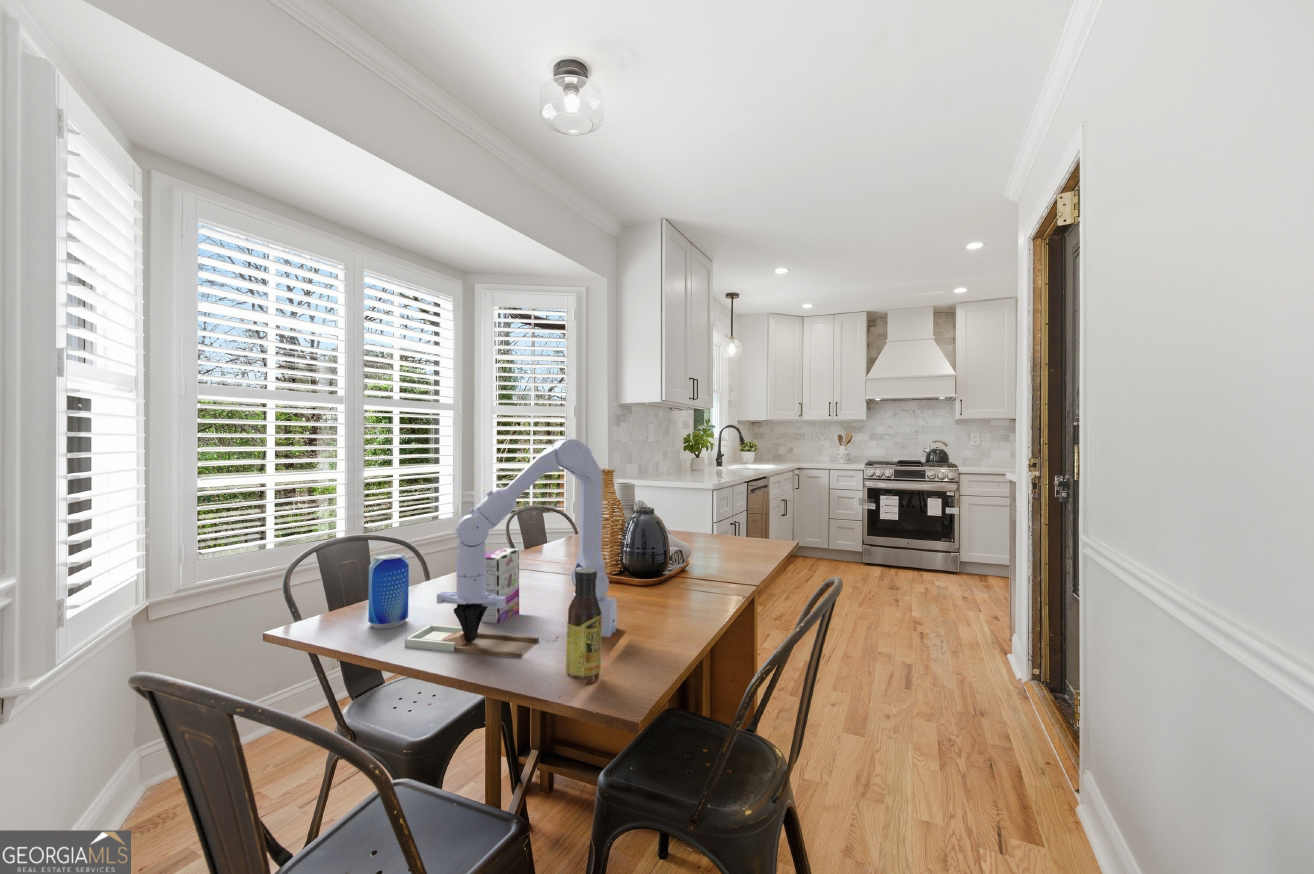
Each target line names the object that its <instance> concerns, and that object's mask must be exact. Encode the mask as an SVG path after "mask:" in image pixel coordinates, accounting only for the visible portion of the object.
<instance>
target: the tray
mask: <svg viewBox="0 0 1314 874" xmlns="http://www.w3.org/2000/svg"><path fill="white" fill-rule="evenodd" d="M433 631H436V632H446V633H453V634H454V633H457V632H461V631H463V630H462V627H461V626H453V625H452V626H451V625H439V624H429V625H428V626H426V627H423V628H422V629H420V630H419V631H417V632H414V633H413V634H411V635H409V636H408V637H406V638H404V647H405V648H414V649H425V650H433V651H434V650H435V651H444V652H454V647H455V646H456V643H454V642H444V641H433V640H423V639H421V638H423V637H424V636H426V635H428V634H430V633H432V632H433ZM465 644H466V643H465ZM462 646H463V645H462Z"/></svg>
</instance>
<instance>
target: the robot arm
mask: <svg viewBox="0 0 1314 874" xmlns="http://www.w3.org/2000/svg"><path fill="white" fill-rule="evenodd" d="M561 468H562V469H564V470H566V471H568V472H569V473H570V474H571V475H572V476H573V477H574V478H575V479H577V480H578V482H579V503H578V504H579V505H578V506H579V507H578V509H579V511H578V512H579V515H578V517H579V519H578V522H579V523H578V553H577V555H576V557H575V566H574V569H573V570H572V573H571V581H572V584H573V585H574V587H575V586H576V579H575V570H577V569H584V568H590V569H595V570H596V571H597V578H596V597H597V600H598V603H599V606H600V609H601V613H602V628H601V638H602V637H603V638H610V637H611V636H612V635H613V634H614V633H616V630H617V629H618V602H617V599H616V598H612V597H609V596H607V592H608V590H609V587H610V581H609V578H608V576H607V573H606V564H605V561H604V558H603V553H602V547H603V546H602V545H603V544H602V543H603V540H602V539H603V490H604V488H603V487H604V485H603V484H604V483H603V482H604V474H603V471H602V469H601V467H600V466H599V464H598V462H597V460H596V458H595V457H594V455H593V454H592V450H591V449H590V448H589V447H588V446H587V445H586V444H585V443H583V442H582V441H580V440H578V439H573V438H571V439H568V438H560V439H558V440H556V441H554V442H553V443H552V445H551V446H549V447H547V448H545V449H543V451H542V452H540V453H539V454H538V455H537V456H536V457H534V459H533V460H532V461H531V462H529V464H528V465H527V466H526V467H525V468H524V469H523V470H522V471H521V472H520V473H519V474H517V476H516V477H515V478H514V479H513V480H512V481H511V482H510V483H509V484H507V485H506V486H505V487H496V488H495V489H494V490H491V489H489V490H488V491H487V492H486V493H485V494H486V497H485V498H484V499H482V501H481V502H479V503H478V504H477V505H476V506H475V507H471V508H470V509H469V510H468V512H469V514H467V515H464V516H463V517H462V518H460V519H459V521H458V522H457V525H456V528H455V531H456V534H457V536H458V543H457V553H456V591H441V592H439V593H437V594H436V604H450V605H451V604H453V605H455V604H456V607H455V608H453V613H454V614H455V616H456V618H457V620H458V623H459V624H460V627H462V630H463V634H464V638H465V642H472V641H474V640H475V639H476V636H477V632H479V627H480V625H481V620H482V617H483V615H484V613H485V611H486V609H487V608H488V606H489V607H497V608H500V609H502V608H503V607H505V606H506V597H505V596H498V595H494V594H489V593H486V555H487V551H486V540H487V538H488V536H489V531H490V530H493V529H494V528H496V527H497V526H498V525H499V524H500V523H501V522H502V521H503V520H504V519H505V518H506V517H507V516H509V514H510V513H511V512H513V510H515V509H516V507H517V499H518V498H519V497H520V496H521V495H522V494H523V493H524V492H526V491H527V490H528V489H529V488H530V487H531V486H532V485H534V484H535V483H537V481H538V480H540V479H541V477H543V476H544V475H545V474H547V473H549V474H550V473H552V472H553V473H554V472H558V471H561ZM572 596H573V597H572V599H573V598H574V597H575V591H574V593H573V594H572Z"/></svg>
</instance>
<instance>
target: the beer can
mask: <svg viewBox="0 0 1314 874" xmlns="http://www.w3.org/2000/svg"><path fill="white" fill-rule="evenodd" d="M409 564H410V563H409V562H408V560H407V559H406V557H405V553H402V552H383V553H377V554H375V555H373V559H372V561H371V562H370V565H368V607H367V609H368V613H367V614H368V616H367V617H368V618H367V619H368V623H369V624H370V625H371V627H372V628H374V629H377V630H386V629H394V628H398V627H401V626H403V625H404V624H405V623H406V620H407V619H408V618H409V597H410V596H409V593H410V592H409V590H410V589H409V587H410V586H409V585H410V581H409V580H410V579H409V578H410V576H409V575H410V573H409V571H410V565H409Z"/></svg>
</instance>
